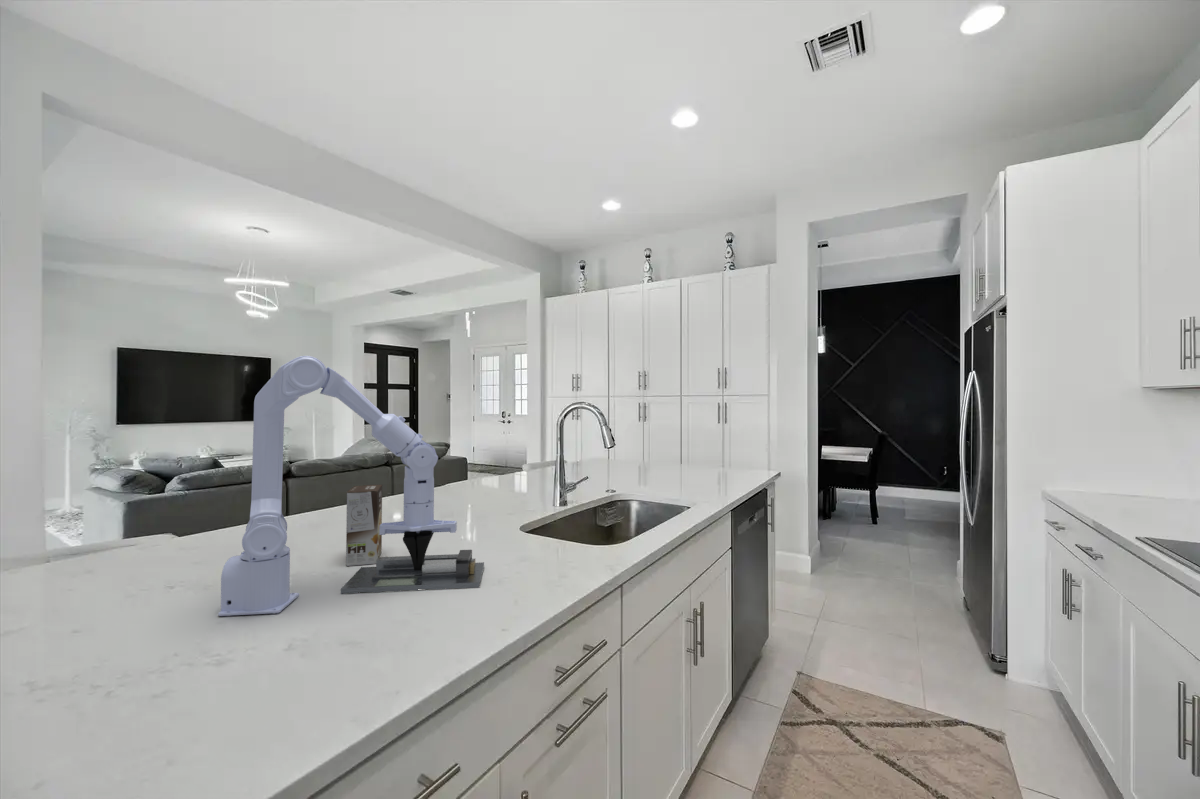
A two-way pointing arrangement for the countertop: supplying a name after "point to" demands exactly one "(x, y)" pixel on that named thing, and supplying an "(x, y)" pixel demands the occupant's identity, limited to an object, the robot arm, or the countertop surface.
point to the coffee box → (363, 525)
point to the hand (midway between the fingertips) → (418, 568)
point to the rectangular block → (444, 566)
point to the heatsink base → (413, 575)
